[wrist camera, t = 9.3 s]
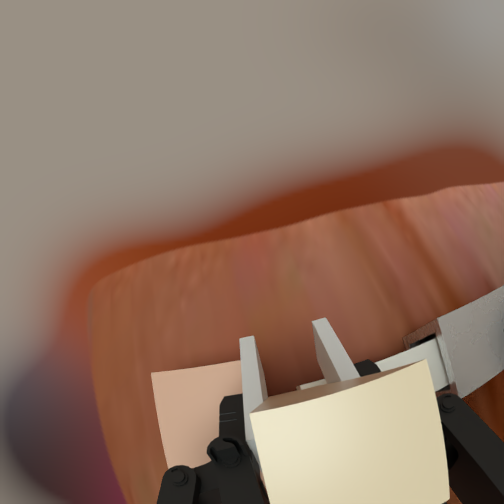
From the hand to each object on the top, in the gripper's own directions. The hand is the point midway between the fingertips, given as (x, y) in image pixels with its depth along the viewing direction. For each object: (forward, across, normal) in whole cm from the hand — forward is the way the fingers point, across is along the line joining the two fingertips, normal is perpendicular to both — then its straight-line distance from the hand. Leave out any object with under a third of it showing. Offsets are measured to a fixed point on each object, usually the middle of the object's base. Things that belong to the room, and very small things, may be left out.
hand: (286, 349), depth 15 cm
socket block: (+2, -5, -8) cm, 10 cm away
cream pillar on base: (+1, +4, -7) cm, 8 cm away
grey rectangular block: (+2, +16, -8) cm, 18 cm away
